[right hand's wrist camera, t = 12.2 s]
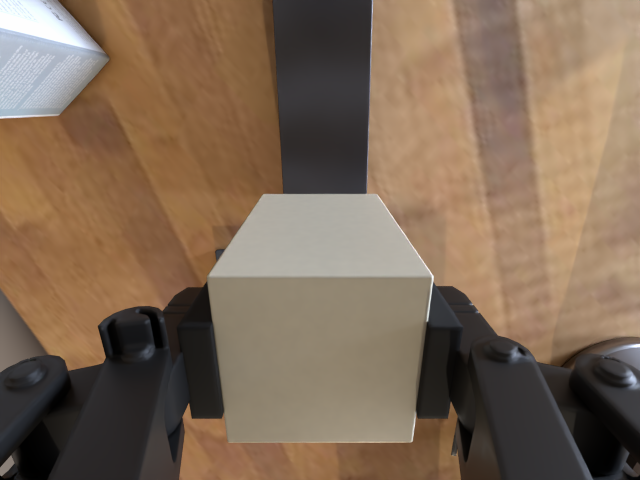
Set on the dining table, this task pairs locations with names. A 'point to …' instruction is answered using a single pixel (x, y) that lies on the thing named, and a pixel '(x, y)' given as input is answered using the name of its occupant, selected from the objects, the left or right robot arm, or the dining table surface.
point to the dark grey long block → (323, 94)
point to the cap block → (320, 322)
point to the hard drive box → (43, 58)
